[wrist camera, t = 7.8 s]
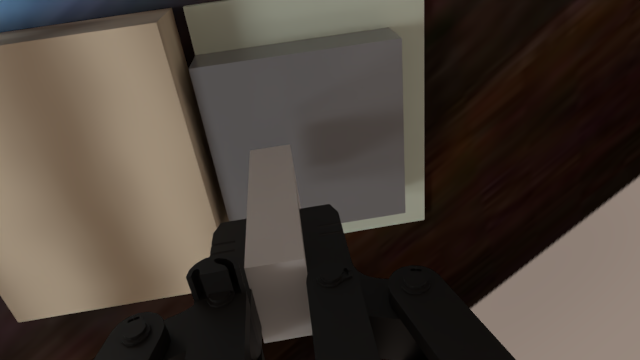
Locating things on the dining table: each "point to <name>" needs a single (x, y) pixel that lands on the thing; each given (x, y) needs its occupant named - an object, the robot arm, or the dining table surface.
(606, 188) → the dining table surface
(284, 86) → the slate tile
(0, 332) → the dining table surface
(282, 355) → the dining table surface
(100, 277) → the board
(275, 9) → the sage mat
